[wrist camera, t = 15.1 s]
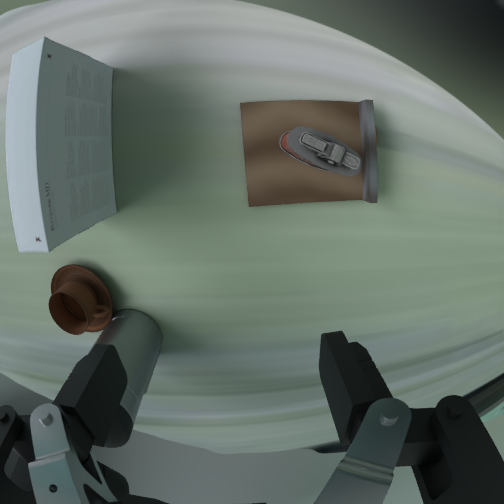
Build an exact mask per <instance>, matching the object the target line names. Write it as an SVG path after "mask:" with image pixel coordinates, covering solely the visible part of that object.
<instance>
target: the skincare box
mask: <svg viewBox="0 0 504 504" xmlns="http://www.w3.org/2000/svg"><path fill="white" fill-rule="evenodd" d="M112 77H113V67H111V66H108V65H106V64H104V63H101V62H99V61H97V60H95V59H93V58H91V57H90V56H88V55H86V54H83V53H81V52H79V51H76V50H73V49H71V48H69V47H66V46H64V45H62V44H59V43H57V42H54V41H52V40H50V39H49V38H47V37H43V38H41V39H39V40H37V41H35V42H33V43H31V44H30V45H28V46H26V47H24V48H22V49H20V50H19V51H17V52H15V53H14V54H13V57H12V63H11V70H10V78H9V86H8V96H7V110H6V163H7V178H8V188H9V197H10V205H11V212H12V218H13V224H14V230H15V235H16V240H17V245H18V249H19V252H50V251H52V250H53V249H54V248H55V247H57V246H59V245H60V244H62V243H64V242H65V241H67V240H69V239H70V238H72V237H74V236H75V235H77V234H80V233H81V232H83V231H85V230H87V229H89V228H90V227H92V226H94V225H95V224H96V223H98V222H100V221H102V220H104V219H105V218H107V217H109V216H111V215H114V214H115V213H116V212H117V210H116V201H115V190H114V177H113V161H112V128H111V107H112Z"/></svg>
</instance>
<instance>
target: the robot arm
mask: <svg viewBox="0 0 504 504" xmlns="http://www.w3.org/2000/svg"><path fill="white" fill-rule="evenodd" d="M161 343H162V335H161V331H160V329H159V327H158V326H157V324H156V323H155V322H154V321H153V320H152V319H151V318H150V317H148V316H147V315H145V314H143V313H141V312H139V311H135V310H122V311H119V312H117V313H116V314H115V315H114V316H113V317H112V319H111V320H110V322H109V323H108V325H107V326H106V328H105V329H104V330H103V332H102V333H101V335H100V336H99V338H98V339H97V341H96V342H95V344H94V345H93V347H92V349H91V350H90V352H89V353H88V355H86V356H85V357H83V358H82V359H81V360H80V361H79V362H77V364H76V366H75V367H74V369H73V370H72V373H70V375H69V377H68V380H66V382H65V383H64V385H63V386H62V388H61V390H60V391H59V393H58V395H57V396H56V398H55V400H54V402H53V403H52V404H44V405H41V406H39V407H38V408H36V409H35V410H34V411H33V413H32V414H31V415H21V416H20V415H18V414H17V412H16V411H15V410H14V408H13V407H11V406H9V405H4V406H1V407H0V504H168V503H165V502H163V501H160V500H157V499H153V498H147V497H141V496H136V495H131V494H129V486H128V482H127V480H126V479H125V477H124V476H123V475H121V474H120V473H118V472H116V471H114V470H113V469H111V468H109V467H107V466H105V465H104V464H102V463H100V462H98V461H97V460H96V459H95V456H94V454H93V452H92V451H91V448H92V445H96V446H100V447H108V448H116V447H121V446H123V445H124V444H126V443H127V441H128V440H129V438H130V435H131V432H132V429H133V425H134V422H135V419H136V415H137V412H138V409H139V406H140V403H141V400H142V397H143V395H144V394H146V392H147V389H148V386H149V383H150V380H151V377H152V374H153V371H154V368H155V365H156V363H157V360H158V357H159V349H160V347H161ZM319 372H320V378H321V382H322V385H323V388H324V391H325V394H326V397H327V401H328V404H329V407H330V410H331V413H332V417H333V420H334V423H335V426H336V430H337V433H338V436H339V440H340V443H341V446H344V445H348V444H351V446H350V448H349V449H348V451H347V453H346V455H345V457H344V458H343V460H341V461H340V463H339V464H338V466H337V467H336V469H335V471H334V472H333V474H332V476H331V477H330V479H329V480H328V482H327V484H326V485H325V487H324V488H323V490H322V491H321V493H320V495H319V496H318V498H317V499H316V501H315V502H314V503H313V504H382V503H383V501H384V499H385V496H386V494H387V492H388V490H389V488H390V485H391V483H392V480H393V476H394V475H393V471H394V468H395V467H399V466H411V467H412V470H413V473H414V475H415V478H416V481H417V484H418V487H419V490H420V493H421V497H422V499H423V503H424V504H504V461H503V459H502V457H501V455H500V453H499V451H498V449H497V448H496V446H495V444H494V442H493V440H492V438H491V437H490V435H489V433H488V431H487V430H486V428H485V426H484V425H483V423H482V421H481V419H480V418H479V416H478V414H477V413H476V411H475V409H474V408H473V406H472V405H471V403H470V402H469V401H468V400H467V399H465V398H463V397H461V396H457V395H450V396H446V397H444V398H442V399H441V400H440V401H439V402H438V404H437V406H436V408H419V409H414V408H409V407H408V405H407V404H406V403H404V402H403V401H401V400H398V399H395V398H393V396H392V395H391V393H390V391H389V389H388V387H387V385H386V383H385V382H384V380H383V378H382V376H381V374H380V373H379V371H378V369H377V368H376V365H375V363H374V362H373V361H372V358H371V356H370V355H369V353H368V351H367V349H366V348H364V347H363V346H362V345H360V344H359V343H358V342H352V343H348V341H347V339H346V337H345V335H344V333H343V332H342V331H336V332H329V333H322V335H321V344H320V358H319ZM12 449H13V450H14V451H15V452H16V453H17V454H18V455H19V458H18V461H17V463H16V466H15V468H14V470H13V473H12V475H11V478H10V479H9V478H8V477H7V476H6V475H5V472H4V466H5V463H6V461H7V459H8V457H9V454H10V452H11V450H12ZM253 504H266V503H253Z"/></svg>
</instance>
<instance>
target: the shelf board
mask: <svg viewBox="0 0 504 504" xmlns="http://www.w3.org/2000/svg"><path fill="white" fill-rule="evenodd" d="M240 107H241V119H242V131H243V143H244V154H245V166H246V178H247V190H248V202H249V207H253V206H265V205H278V204H292V203H308V202H325V201H345V200H365V201H367V202H369V203H377V151H376V145H377V132H376V126H375V119H374V107H373V100H363V101H361V102H344V101H315V100H294V101H264V102H248V103H240ZM299 126H301V127H307V128H311V129H315V130H318V131H321V132H323V133H326V134H328V135H331V136H333V137H335V138H336V139H338V140H340V141H341V142H343V143H345V144H346V145H348V146H349V147H350V148H351V149H353V150H354V151H355V152H356V153H358V154H359V156H360V157H361V160H362V167H361V170H360V172H359V173H358V174H357V175H355V176H353V177H350V176H345V175H341V174H338V173H334V172H329V171H325V170H321V169H317V168H314V167H311V166H309V165H306V164H304V163H302V162H300V161H298V160H296V159H294V158H293V157H291V156H290V155H288V154H287V153H285V152H284V151H282V150H281V149H280V146H279V139H280V137H281V135H283V134H284V133H286V132H288V131H292V130H293V129H294V128H296V127H299Z"/></svg>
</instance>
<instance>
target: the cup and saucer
mask: <svg viewBox="0 0 504 504" xmlns="http://www.w3.org/2000/svg"><path fill="white" fill-rule="evenodd" d="M51 293H52V295H51V297H50V299H49V310H50V313H51V316H52V318H53V319H54V321H55V322H56V324H57V325H58V326H59V327H60V328H61V329H63V330H64V331H66V332H68V333H70V334H74V335H79V334H82V333H84V332H85V331H86V332H98V331H101V330H103V329H105V328H106V326H107V325H108V323H109V322H110V320H111V318H112V314H113V304H112V299H111V296H110V293H109V291H108V289H107V288H106V286H105V284H104V283H103V282H102V280H101V279H100V278H99V277H98V276H97V275H96V274H94V273H93V272H92V271H90V270H89V269H87V268H85V267H83V266H79V265H66V266H63V267H61V268H60V269H58V270H57V271H56V273H55V274H54V276H53V278H52V282H51Z"/></svg>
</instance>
